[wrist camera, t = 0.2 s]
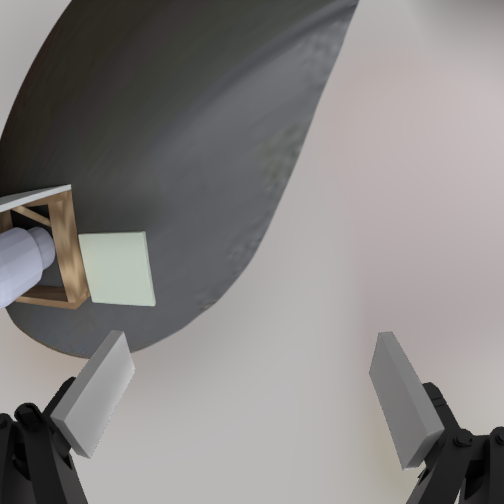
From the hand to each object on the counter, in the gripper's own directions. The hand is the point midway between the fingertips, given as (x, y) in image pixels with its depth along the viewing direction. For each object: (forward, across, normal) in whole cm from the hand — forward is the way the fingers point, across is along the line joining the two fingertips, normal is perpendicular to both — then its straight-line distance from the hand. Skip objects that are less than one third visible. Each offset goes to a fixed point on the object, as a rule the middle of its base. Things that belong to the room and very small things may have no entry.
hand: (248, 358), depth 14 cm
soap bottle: (+28, -39, -3) cm, 48 cm away
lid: (+28, -39, +7) cm, 48 cm away
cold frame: (+28, -39, -3) cm, 48 cm away
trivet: (+28, -23, -7) cm, 37 cm away
